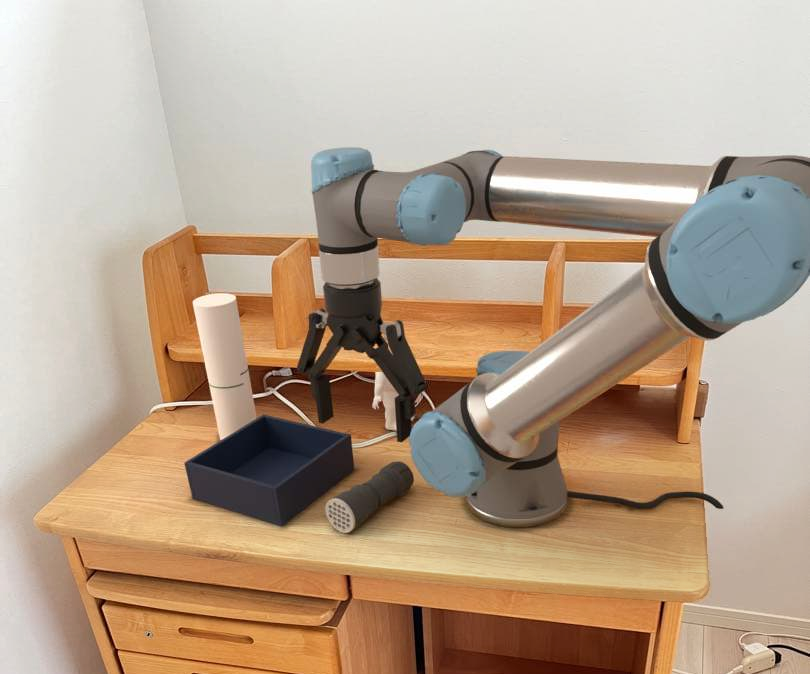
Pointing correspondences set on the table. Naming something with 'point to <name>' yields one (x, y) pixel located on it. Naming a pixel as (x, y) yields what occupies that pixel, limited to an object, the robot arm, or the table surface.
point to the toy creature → (386, 399)
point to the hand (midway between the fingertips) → (364, 428)
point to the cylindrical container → (225, 361)
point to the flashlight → (368, 496)
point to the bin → (270, 468)
